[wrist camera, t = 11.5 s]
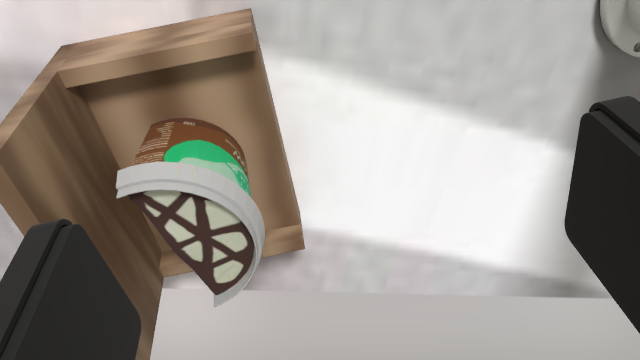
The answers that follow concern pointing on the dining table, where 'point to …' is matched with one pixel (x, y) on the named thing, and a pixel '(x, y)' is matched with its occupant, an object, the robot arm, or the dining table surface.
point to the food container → (198, 200)
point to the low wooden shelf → (128, 134)
